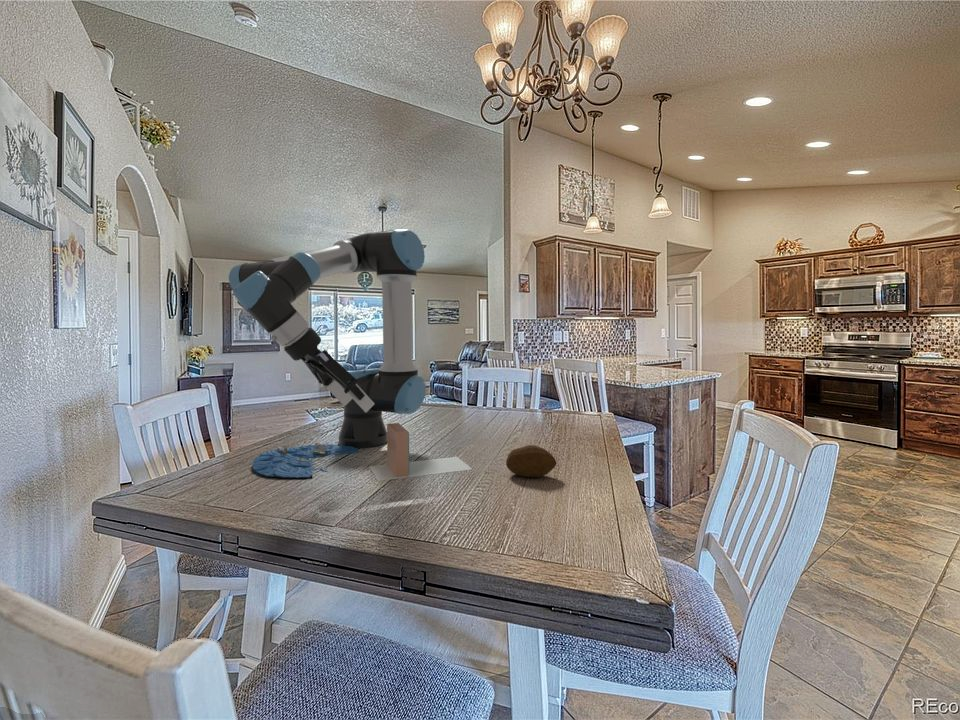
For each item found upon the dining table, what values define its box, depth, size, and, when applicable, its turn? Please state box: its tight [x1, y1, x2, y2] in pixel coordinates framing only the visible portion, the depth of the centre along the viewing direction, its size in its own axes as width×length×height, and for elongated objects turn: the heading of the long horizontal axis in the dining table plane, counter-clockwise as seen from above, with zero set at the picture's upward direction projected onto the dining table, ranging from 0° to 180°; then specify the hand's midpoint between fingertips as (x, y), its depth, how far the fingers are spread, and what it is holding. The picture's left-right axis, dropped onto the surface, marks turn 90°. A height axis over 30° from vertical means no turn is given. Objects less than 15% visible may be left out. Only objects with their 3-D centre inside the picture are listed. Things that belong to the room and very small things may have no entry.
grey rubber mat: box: [369, 456, 473, 482], centre depth 121 cm, size 12×24×1 cm, turn 113°
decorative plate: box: [252, 442, 363, 479], centre depth 129 cm, size 30×30×5 cm
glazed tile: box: [386, 422, 410, 477], centre depth 118 cm, size 10×3×11 cm, turn 23°
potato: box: [505, 444, 557, 478], centre depth 117 cm, size 8×12×8 cm, turn 88°
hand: (358, 405), depth 112 cm, fingers open, 13 cm apart
